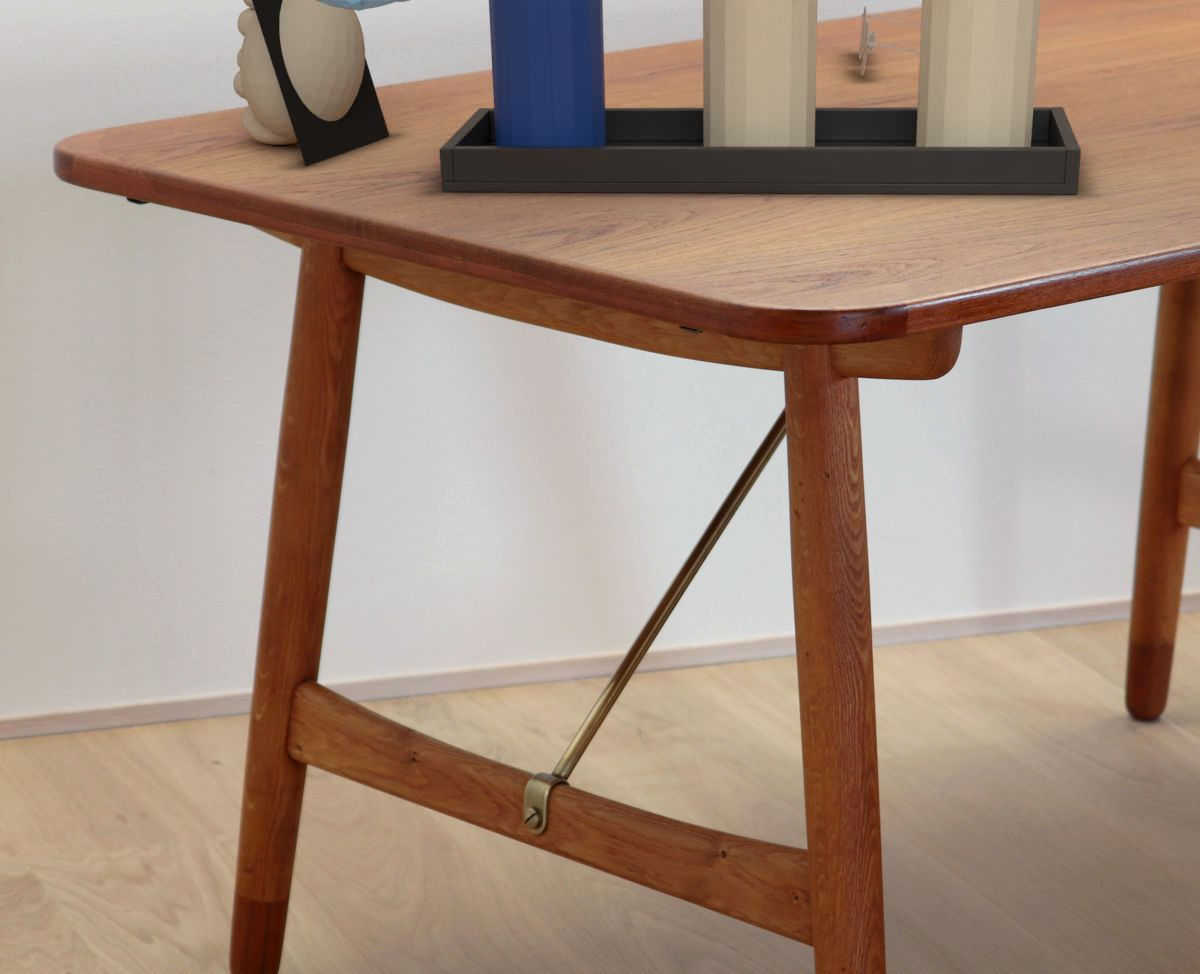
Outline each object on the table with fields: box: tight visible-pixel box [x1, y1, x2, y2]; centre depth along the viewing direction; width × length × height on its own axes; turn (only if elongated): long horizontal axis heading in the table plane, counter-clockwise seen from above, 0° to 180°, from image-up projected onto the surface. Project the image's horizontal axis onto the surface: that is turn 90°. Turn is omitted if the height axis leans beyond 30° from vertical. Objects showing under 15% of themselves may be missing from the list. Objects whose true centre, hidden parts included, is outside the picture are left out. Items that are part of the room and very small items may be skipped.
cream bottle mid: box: [702, 0, 819, 147], centre depth 116 cm, size 7×7×16 cm
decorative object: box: [232, 0, 390, 168], centre depth 127 cm, size 13×10×10 cm
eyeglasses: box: [858, 5, 921, 78], centre depth 150 cm, size 14×8×4 cm, turn 174°
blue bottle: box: [488, 0, 606, 146], centre depth 118 cm, size 7×7×16 cm
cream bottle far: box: [916, 0, 1042, 147], centre depth 114 cm, size 7×7×16 cm
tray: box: [438, 106, 1082, 195], centre depth 119 cm, size 38×13×3 cm, turn 82°
